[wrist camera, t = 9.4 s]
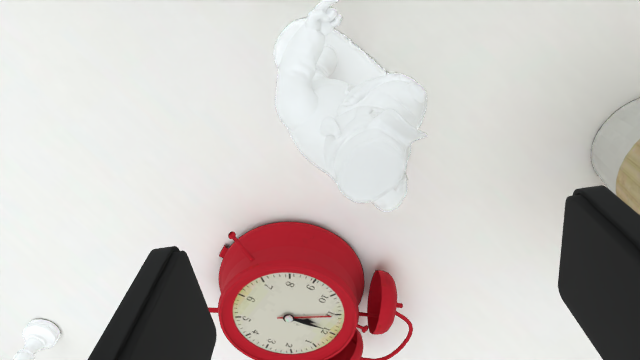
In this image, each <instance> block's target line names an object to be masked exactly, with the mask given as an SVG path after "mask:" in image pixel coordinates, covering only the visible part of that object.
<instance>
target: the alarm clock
mask: <svg viewBox="0 0 640 360" xmlns="http://www.w3.org/2000/svg"><path fill="white" fill-rule="evenodd" d="M228 236H229V238H230V239H233V240H234V241H235V242H234V243H233V244H232V245H231V246H230V248H229V249H228V248H226V247H225V245H224V247H223V249H222V251H221V252H220V255H219V256H220V257H222V258H223V260H222V263H221V267H220V271H219V287H220V291H221V296H220V299H219V303H218V308H208V309H209V312H213V313H218V314H219V321H220V325H221V328H222V330H223V333H224V334H225V336H226V337H227V339H228V340H229V342H230V343H231V344H232V345H233V346H234V347H235V348H237V349H238V350H239V351H240V352H242V353H243V354H245V355H246V356H248V357H250V358H252V359H254V360H387V359H389V358H391V357H393V356H394V355H395V354H397V353H398V352H399V351H400V350H401V349H402V348H403V347H404V346H405V345H406V343H407V342H408V341H409V339H410V337H411V335H412V331H413V328H412V324H411V322H410V321H409V320H408V319H407V318H406V317H405V316H403V315H402V314H400V313H398V312H397V311H396V307H398V308H402V307H403V304H402V303H397V291H396V286H395V282H394V280H393V278H392V276H391V275H390V274H389V273H387V272H384V271H380V270H376V271H375V273H374V274H373V277H372V281H371V284H370V289H369V295H368V308H367V313H363V312H359V309H358V305H359V303H360V301H361V298H362V295H363V291H364V274H363V269H362V265H361V263H360V261H359V259H358V257H357V255H356V253H355V252H354V251H353V249H352V248H351V247H350V246H349V245H348V244H347V243H346V242H345V241H344V240H342V239H341V238H340V237H338V236H337V235H335V234H334V233H332V232H330V231H328V230H326V229H324V228H321V227H318V226H315V225H311V224H306V223H299V222H279V223H272V224H267V225H264V226H260V227H258V228H255V229H253V230H251V231H249V232H247V233H246V234H244V235H242V236H241V237H240V238H239V239H237V238H236V237H235V236H236V234H235V232H230V233H229V235H228ZM395 315H397V316H398V317H400V318H401V319H403V320H404V321H405V322H406V323H407V324H408V326H409V332H408V335H407V337H406V339H405V340H404V341H403V343H402V344H401V345H400V346H399V347H398V348H397V349H396V350H395V351H393V352H392V353H391V354H389V355H387V356H385V357H382V358H377V359H371V358H363V357H361V356H362V352H363V341H362V336H361V334H360V332H359V331H358V330H357V328H356V327H358V328H360V329H362V332H364V333H365V332H366V331H367V330H368V328H369V330H370V333H372V334H383V333H385V332H387V331H388V329H389V328H390V327H391V325H392V323H393V321H394V317H395ZM359 316H367V317H368V326H367V325H366V326H364V327H363V326H360V325H358V319H359Z"/></svg>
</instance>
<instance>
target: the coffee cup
mask: <svg viewBox="0 0 640 360" xmlns="http://www.w3.org/2000/svg"><path fill="white" fill-rule="evenodd" d="M591 161H592V165H593V168H594V170H595V172H596V174H597V175H598V176H599V177H600V178H601V180H602V181H603V182H604V183H605V184H606V186H607V187H608V188H609V189H610V191H612V192H613V193H614V194H615V195H616V196H618V197H619V198H620V199H621V200H622V201H624V202H625V203H626V204H627V205H628V206H629V207H631V208H632V209H633V210H634V211H635V212H637V213H638V214H639V215H640V98H639V99H636V100H634V101H631V102H630V103H628V104H626V105H625V106H623V107H621V108H620V109H619V110H617V111H616V112H615V113H614V114H612V115H611V116H610V117H609V118H608V119H607V121H606V122H605V123H604V124H603V125H602V127H601V128H600V130H599V131H598V133H597V135H596V137H595V139H594V142H593V146H592V150H591Z"/></svg>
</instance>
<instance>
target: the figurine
mask: <svg viewBox="0 0 640 360" xmlns="http://www.w3.org/2000/svg"><path fill="white" fill-rule="evenodd" d="M338 1H339V0H323V1H321V2H319V3H318V4H317V5H316V6H315V8H314V9H313V11H311V12H309V14H308V16H307V18H302V19H297V20H295V21H293V22H291V23H290V24H289V25H288V26H287V27H286V28H285V29H284V30H283V31H282V33H281V34H280V36H279V37H278V39H277V41H276V43H275V47H274V60H275V63H276V66H277V68H278V74H277V82H276V97H275V106H276V111H277V114H278V116H279V118H280V120H281V122H282V123H283V124H284V125H285V126H286V127H287V128H288V132H289V134H290V136H291V138H292V140H293V141H294V143H295V145H296V146H297V148H298V150H299V151H300V152H301V154H302V155H303V156H304V157H305V158H306V159H307V160H309V161H310V162H311V163H312V164H313V165H315V166H316V167H317V168H319V169H320V170H322V171H323V172H325V173H326V174H327V175H329V176H330V177H331V178H332V179H333V180H334V181H335V182H336V183H337V185H338V188H339V190H340V191H341V193H342V194H343V195H344V196H346V197H347V198H348V199H350V200H351V201H353V202H356V203H368V202H372V203H373V204H374V205H375V206H376V208H378V209H379V210H381V211H384V212H390V211H393V210H394V209H396V208H397V207H399V206H400V204H401V203H402V201H403V200H404V198H405V196H406V193H407V176H406V173H405V170H406V167H407V161H408V159H409V156H410V153H411V144H412V143H413V142H414V141H416V140H419V139H420V138H424V137H426V136H427V133H424V132H421V131H420V130H419V127H420V126H421V124H422V121H423V118H424V115H425V112H426V107H427V99H426V98H427V93H426V90H425V88H424V87H423V86H422V85H419V84H418V82H416V81H415V80H414V79H412V78H410V77H408V76H406V75H403V74H399V73H391V74H389V73H388V72H387V73H386V70H385V69H384V68H383V67H382V68H381V66H380V65H379V64H376V61H374V60H373V59H371V58H370V56H369V55H368V54H367V53H366V54H365V53H364V51H363V50H362V49H359V47H358V46H357V45H356V44H353V41H351V40H350V39H347V36H346V35H345V34H343V35H342V34H341V33H340V32H338V31H337V30H335V29H334V27H336V26H338V25H340V23H341V21H342V19H343V17H342V15H340V14H338V12H337V10H336V9H335V8H332V7H330V6H331V5H333V4H334V3H337V2H338Z"/></svg>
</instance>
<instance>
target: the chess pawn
mask: <svg viewBox="0 0 640 360" xmlns="http://www.w3.org/2000/svg"><path fill="white" fill-rule="evenodd" d="M22 336H23V338H24V340H25V346H24V348H23V350H19V351H18V352H17V354H16V355H15V356H14V357H13V359H12V360H34V359H35V356H34V354H35V353H36V352H38V351H39V350H42V349H49V348H51V347H53V346H54V345H55V344H56V342H57V341H58V339H59V338H60V330H59V329H58V327H57V326H56V325H55V324H53V323H52V322H50V321H47V320H43V319H36V320H32V321H30V322H29V323H28V325H27V326H26V327H25V329H24V330H23V332H22Z"/></svg>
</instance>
